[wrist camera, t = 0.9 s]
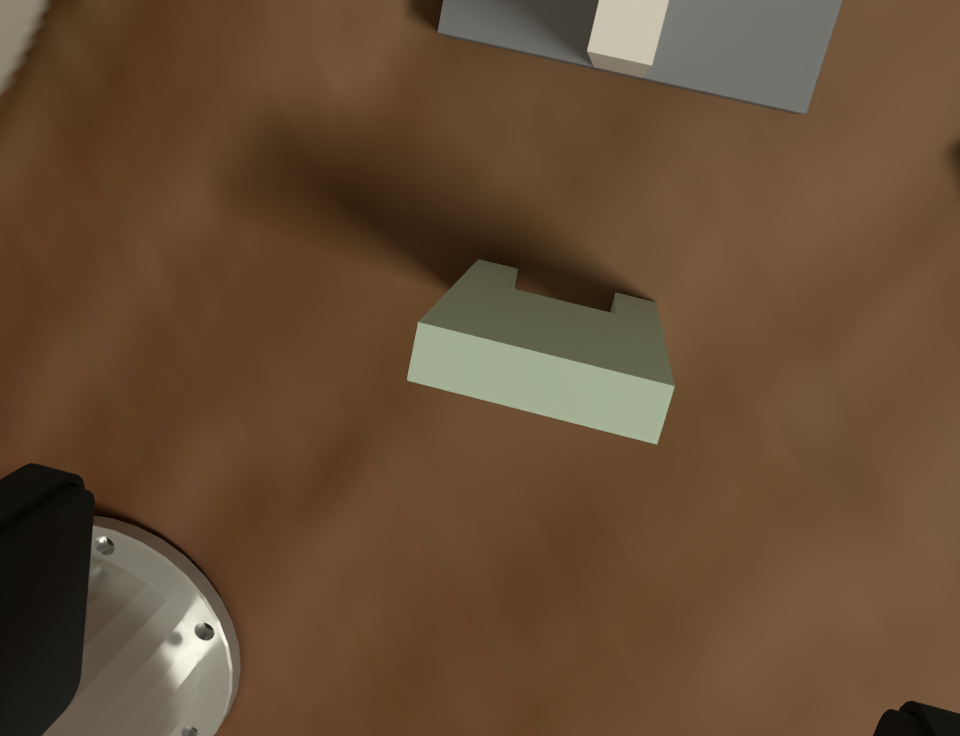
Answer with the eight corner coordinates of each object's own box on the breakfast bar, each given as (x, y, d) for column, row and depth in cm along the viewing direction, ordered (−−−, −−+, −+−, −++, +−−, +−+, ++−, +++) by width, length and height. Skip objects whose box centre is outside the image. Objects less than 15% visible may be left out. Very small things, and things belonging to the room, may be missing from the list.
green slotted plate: (656, 302, 31) (674, 386, 21) (644, 344, 31) (657, 444, 22) (478, 259, 31) (418, 322, 22) (469, 300, 32) (406, 380, 22)
